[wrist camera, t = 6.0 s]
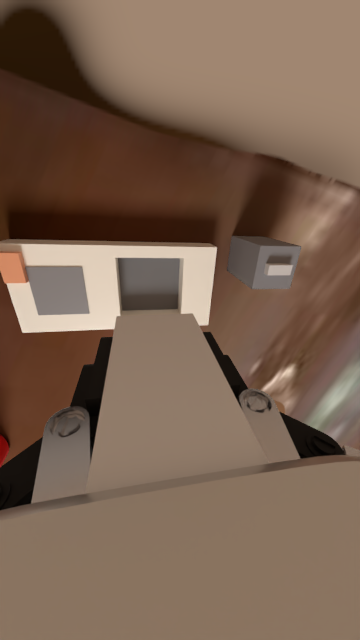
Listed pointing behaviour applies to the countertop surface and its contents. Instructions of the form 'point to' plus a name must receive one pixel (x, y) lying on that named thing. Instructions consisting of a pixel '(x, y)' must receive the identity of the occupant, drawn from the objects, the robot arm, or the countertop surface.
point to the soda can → (3, 449)
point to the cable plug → (263, 262)
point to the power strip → (104, 281)
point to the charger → (166, 408)
